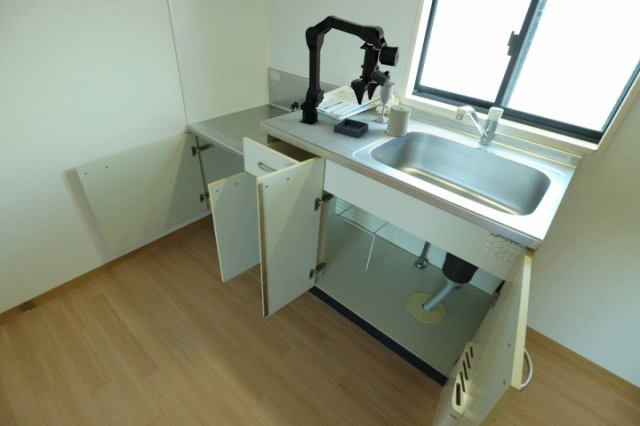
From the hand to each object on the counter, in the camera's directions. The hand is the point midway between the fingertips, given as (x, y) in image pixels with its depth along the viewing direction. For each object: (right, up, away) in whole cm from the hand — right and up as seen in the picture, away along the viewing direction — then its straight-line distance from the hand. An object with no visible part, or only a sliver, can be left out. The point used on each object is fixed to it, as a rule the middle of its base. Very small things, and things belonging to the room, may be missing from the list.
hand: (364, 102), depth 138 cm
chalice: (+11, -2, +22) cm, 25 cm away
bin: (-5, -10, +10) cm, 15 cm away
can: (+16, -10, +11) cm, 22 cm away
